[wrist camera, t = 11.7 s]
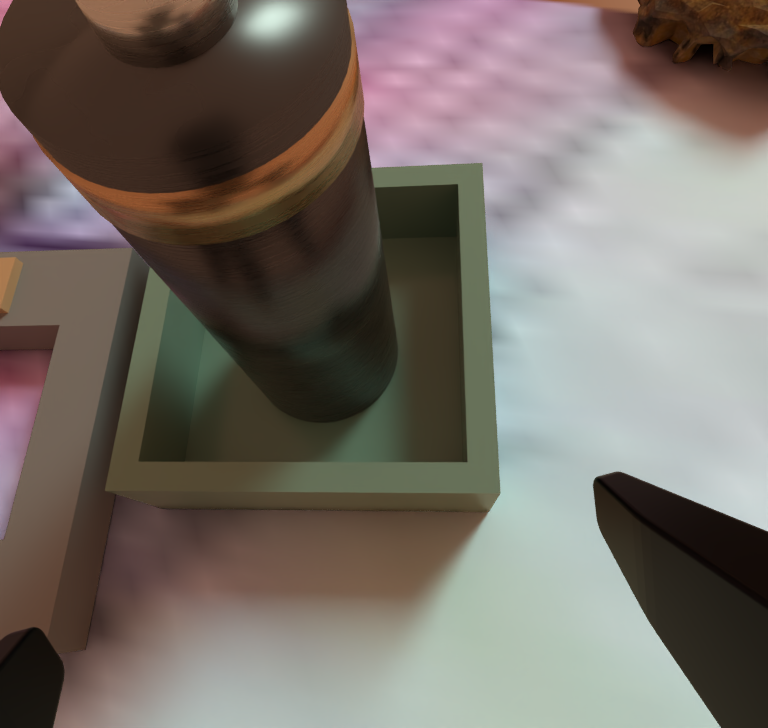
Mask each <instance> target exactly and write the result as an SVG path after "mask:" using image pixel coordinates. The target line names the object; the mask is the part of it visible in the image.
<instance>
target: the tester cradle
mask: <svg viewBox="0 0 768 728" xmlns="http://www.w3.org/2000/svg"><path fill="white" fill-rule="evenodd" d="M149 269H150V267H149V266H148V265H147V264H146V263H145V262H144V261H143V259H142V258H141V257H140V256H139V255H138V254H137V253H136V252H135V250H134V249H133V248H118V249H87V250H56V251H25V252H0V350H31V349H53V353H52V357H51V360H50V364H49V368H48V372H47V376H46V380H45V384H44V387H43V391H42V395H41V399H40V403H39V407H38V411H37V414H36V418H35V422H34V426H33V430H32V434H31V437H30V441H29V445H28V449H27V453H26V457H25V461H24V464H23V468H22V472H21V476H20V480H19V484H18V488H17V491H16V495H15V499H14V503H13V507H12V511H11V515H10V518H9V522H8V526H7V530H6V534H5V538H4V540H0V640H1V639H2V638H3V637H5V636H6V635H8V634H10V633H12V632H15V631H19V630H23V629H26V628H30V627H38V628H39V629H41V630H42V631H43V632H44V633H45V635H46V637H47V638H48V640H49V641H50V643H51V644H52V646H53V648H54V649H55V651H56V652H57V654H60V653H67V652H73V651H80V650H85V649H86V643H87V638H88V633H89V628H90V623H91V618H92V613H93V608H94V602H95V597H96V592H97V587H98V582H99V577H100V572H101V566H102V561H103V556H104V551H105V546H106V541H107V536H108V531H109V525H110V520H111V515H112V510H113V505H114V500H115V495H116V494H114V493H110V492H107V491H105V487H106V482H107V477H108V472H109V467H110V462H111V457H112V452H113V447H114V442H115V437H116V432H117V427H118V422H119V418H120V413H121V408H122V403H123V398H124V393H125V388H126V383H127V378H128V373H129V368H130V363H131V358H132V353H133V348H134V343H135V338H136V333H137V329H138V324H139V319H140V314H141V309H142V304H143V299H144V294H145V289H146V284H147V279H148V274H149Z"/></svg>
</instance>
